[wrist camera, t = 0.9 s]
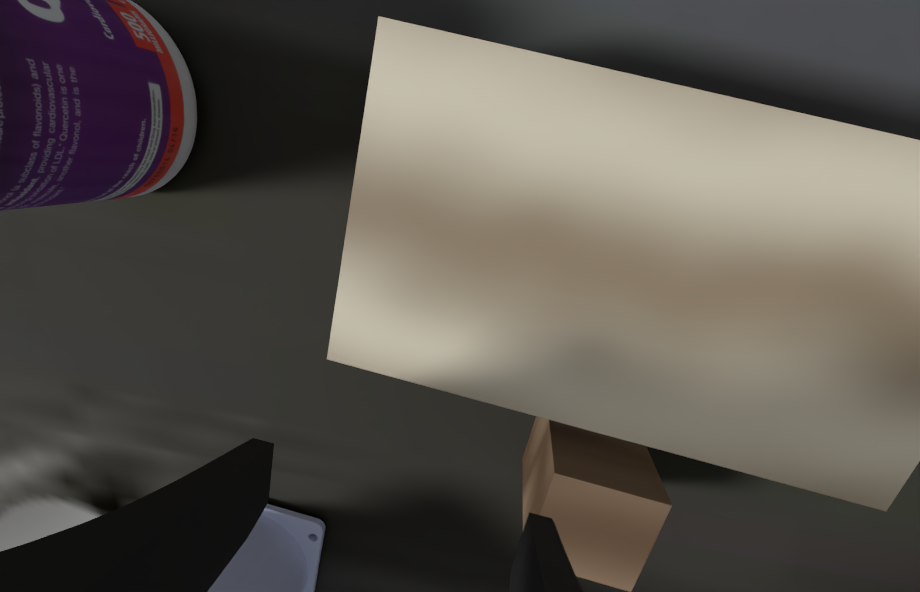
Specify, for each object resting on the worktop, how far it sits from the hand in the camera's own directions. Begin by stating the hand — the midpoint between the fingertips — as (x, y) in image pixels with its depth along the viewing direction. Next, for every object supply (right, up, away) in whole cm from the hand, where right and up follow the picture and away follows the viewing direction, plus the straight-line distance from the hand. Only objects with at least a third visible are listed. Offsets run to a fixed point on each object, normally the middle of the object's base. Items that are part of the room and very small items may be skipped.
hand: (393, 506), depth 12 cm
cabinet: (+8, +8, +6) cm, 13 cm away
